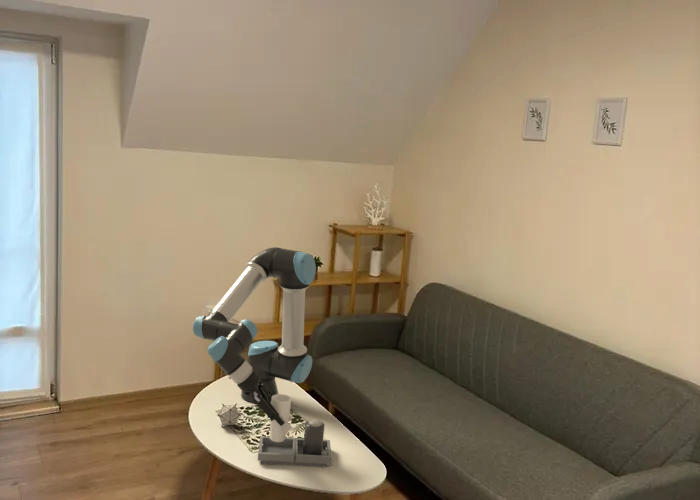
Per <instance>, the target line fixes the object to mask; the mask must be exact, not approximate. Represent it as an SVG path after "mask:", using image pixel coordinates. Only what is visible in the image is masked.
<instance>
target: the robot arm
mask: <svg viewBox="0 0 700 500" xmlns="http://www.w3.org/2000/svg"><path fill="white" fill-rule="evenodd" d="M316 266H317V265H316V261H315V259H314V257H313V256H312V255H311V254H310V253H307V252H303V251H300V250H299V251H298V250H294V249H287V248H281V247H277V246H276V247H269V248H266V249H264V250H262V251H259V252H258V253H257V254H256V255H253V256H252V258H250V259H249V260H248V262H247V263H246V264H245V265H244V270H243V272H242V273H241V274H240V275H239V277H238V278H237V279H236V280H235V282H234V283H233V284H232V285H231V286H230V288H229V289H227V291H226V293H225V294H224V295H223V296H222V298H221V299H220V300H219V301H218V302H217V303H216V305H215V306H214V307H213V309H212V310H211V311H210V312H209V313H208V315H200V316H197V317H196V318H195V320H194V322H193V324H192V331H193V333H194V335H195V336H196V337H198V338H201V339H204V340H208V341H209V340H210V341H213V342H212V343H210V344H209V346H208V347H207V351H206V352H207V353H208V355H209V356H210V358H211V359H212V360H213V361H214V362H215V363H216V364H217V366H218V367H220V369H222V371H224V373H225V374H227V376H228V380H231V381H233V382H234V384H236V386H237V388H239V389H240V390H241V392H240V393H241V394H240V396H241V398H242V399H243V400H244V401H246V402H249V403H254V404H256V405H257V406H258V407H259V408H260V409H261V410H262V412H264V413H265V415H266V416H267V417H268V419H269V421H270V420H271V421H273V420H275V421H276V423H277V424H278V425H279V426H280V427H281V428H282V429H283V430H284V431H285V432H286V434H287V433H288V432H290V431H291V430H292V429H293V426H292V425H291V423H289V422H290V421H291V420H293V417H292V415H291V414H289V419H288V422H287V421H286V420H285V418H284V417H283V416H282V415H281V414H279V413H278V412H277V411H276V409H275V408H274V407H273V405H272V404H271V398H272V396H273V395H277V394H279V389H278V385H277V382H276V378H277V379H280V380H283V381H288V382H290V383H296V384H302V383H303V382H304V381H306V379H307V378H308V376H309V374H310V372H311V371H312V368H313V367H312V366H313V357H312V356H311V355H310V354H308V348H307V346H306V345H304V339H305V309H306V308H305V307H306V290H307V289H308V288H310V284H312V283H313V282H314V280H315V275H316V271H317V267H316ZM268 278H277V279H279V280H278V281H279V282H278V285H279V288H281V289H282V317H281V318H282V321H281V322H282V325H281V326H282V327H281V344H280V346H279V343H278V342H277V341H275V340H261V341H260V340H259V341H256V342H253V341H254V339H255V337H256V336H257V335H258V327H257V325H256V323H254V322H253V321H252V320H250V319H247V318H245V319H241V320H240V321H239V322H238V323H234V322H231V321H232V319H233V318H234V317H235V316H236V315H237V313H238V312H239V311H240V309H241V308H242V307H243V306H244V304H245V303H246V302H247V301H248V299H249V298H250V297H251V295H252V294H253V293H254V292H255V290H256V289H257V288H258V287H259V285H260V284H261V283H264V282H266V280H267V279H268ZM252 342H253V343H252ZM248 347H249V348H248ZM247 348H248V355H247V360H246V359H245V358H244V357H243V355H242V353H244V351H245V350H246V349H247Z"/></svg>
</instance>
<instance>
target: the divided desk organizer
mask: <svg viewBox="0 0 700 500" xmlns="http://www.w3.org/2000/svg"><path fill="white" fill-rule="evenodd" d="M304 423H305V425H304V435H303V438H299V437H298V438H297V437H286V438H285V440H284V441H283V442H273V441H271V440H270V436H264V435H261V436H259V437H260V438H259V446H258V454H257V461H259V462H260V461H261V465H273V466H274V465H277V466H295V467H298V466H299V467H313V468H314V467H315V468H328V465H332V459H333V458H332V457H333V456H332V449H331V448H332V447H331V440H330V439H324V434H325V425H326V424H325V423H324V422H323V421H321V420H319V419H314V418H313V419H310V420H308V421H306V422H304Z"/></svg>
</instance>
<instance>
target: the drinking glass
mask: <svg viewBox="0 0 700 500" xmlns="http://www.w3.org/2000/svg"><path fill="white" fill-rule="evenodd" d="M271 404H272V405H273V407H274V408H275V409H276V411H277V412H278V413H279V414H281V415H282V416H283V417H284V418H285V420H286V421H287V422H288V419H289V414H290V413H291V407H292V397H291V396H289V395H287V394H282V393H281V394H280V393H278V394H277V395H273V396H272V398H271ZM290 415H291V414H290ZM269 423H270V424H269V437H270V440H271V441H273V442H283V441H284V440H285V438H287V433H286V432H285V431H284V430H283V429H282V428H281V427H280V426H279V425H278V424H277V423H276V421H275V420H273V421H271V420H270V419H269ZM288 423H289V422H288Z"/></svg>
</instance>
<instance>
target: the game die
mask: <svg viewBox="0 0 700 500" xmlns="http://www.w3.org/2000/svg"><path fill="white" fill-rule="evenodd" d="M221 404H222V407H221V409H220V411H219V413H217V414H216V416H217V417H219V419H220V422H221V428H222V427H223V426H234V427H235V428H236V427H237V425H236V423H237V422H238V420H239V418H240V417H242V415H241V414H240V412H239V411H238V408H237V405H238V404H237V403H235V404H232V405H230V404H229V405H228V404H226V405H224V403H221Z"/></svg>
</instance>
